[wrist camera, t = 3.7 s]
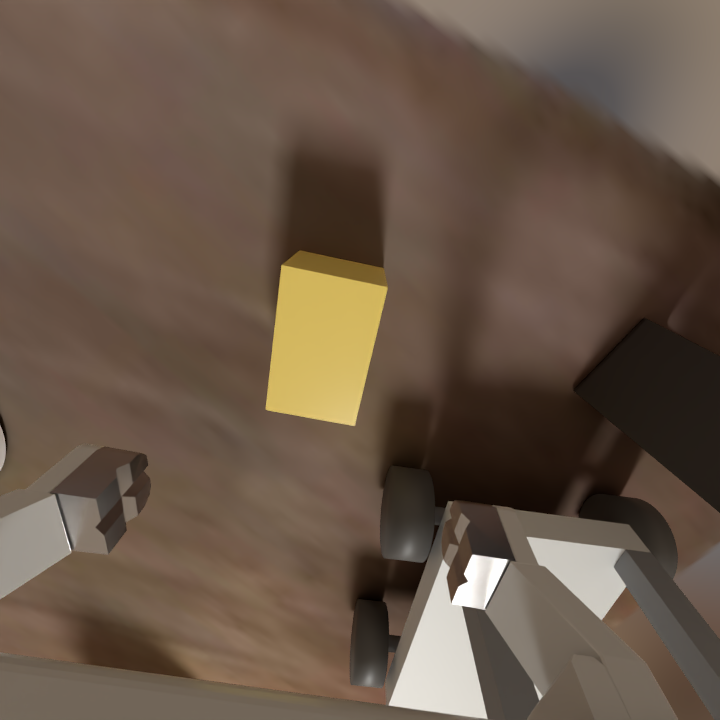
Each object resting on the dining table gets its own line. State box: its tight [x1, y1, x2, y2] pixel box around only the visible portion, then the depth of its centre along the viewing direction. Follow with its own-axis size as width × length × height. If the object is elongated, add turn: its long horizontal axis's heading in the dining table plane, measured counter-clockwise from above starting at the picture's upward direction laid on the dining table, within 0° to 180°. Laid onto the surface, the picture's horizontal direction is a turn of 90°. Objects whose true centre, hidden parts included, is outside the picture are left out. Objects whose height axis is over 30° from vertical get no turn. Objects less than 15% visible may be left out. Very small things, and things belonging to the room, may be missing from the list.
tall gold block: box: [266, 250, 388, 426], centre depth 20 cm, size 5×8×5 cm, turn 168°
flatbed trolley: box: [350, 466, 720, 720], centre depth 22 cm, size 22×18×21 cm
